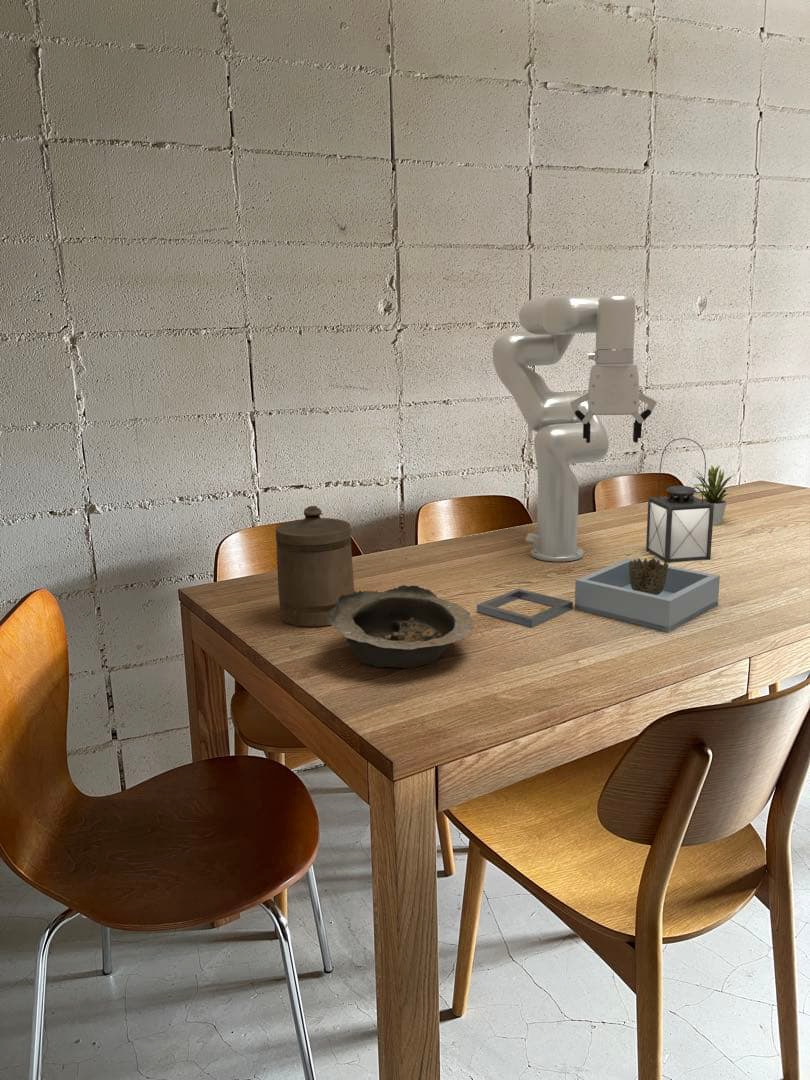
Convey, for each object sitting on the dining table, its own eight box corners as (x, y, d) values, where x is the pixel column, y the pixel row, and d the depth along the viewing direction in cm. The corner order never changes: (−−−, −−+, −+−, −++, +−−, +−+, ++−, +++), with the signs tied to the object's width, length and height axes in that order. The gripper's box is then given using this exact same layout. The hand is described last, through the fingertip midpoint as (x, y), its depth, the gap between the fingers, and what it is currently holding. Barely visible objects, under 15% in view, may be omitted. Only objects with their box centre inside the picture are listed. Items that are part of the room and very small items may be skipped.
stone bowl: (341, 626, 161) (343, 579, 158) (473, 637, 158) (476, 590, 156) (315, 677, 137) (316, 623, 134) (469, 691, 135) (473, 636, 132)
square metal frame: (476, 611, 167) (476, 604, 166) (518, 595, 176) (518, 588, 175) (532, 627, 157) (532, 619, 157) (572, 609, 167) (572, 601, 166)
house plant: (677, 516, 239) (680, 459, 235) (728, 516, 237) (732, 458, 233) (686, 528, 226) (690, 468, 222) (740, 528, 224) (745, 467, 220)
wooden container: (349, 599, 177) (344, 496, 171) (360, 623, 163) (355, 511, 157) (277, 606, 174) (270, 502, 168) (283, 631, 160) (275, 518, 154)
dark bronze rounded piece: (674, 604, 164) (676, 565, 162) (644, 610, 162) (645, 570, 160) (649, 593, 171) (651, 555, 169) (619, 599, 168) (621, 561, 166)
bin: (574, 608, 167) (575, 579, 165) (627, 585, 180) (628, 558, 179) (668, 632, 153) (670, 601, 151) (717, 604, 167) (719, 575, 165)
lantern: (711, 560, 197) (719, 440, 190) (665, 563, 195) (672, 442, 188) (688, 548, 208) (695, 434, 201) (645, 550, 206) (650, 436, 199)
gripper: (571, 360, 170) (569, 444, 174) (660, 358, 167) (656, 444, 171) (570, 358, 177) (569, 439, 181) (656, 356, 174) (652, 439, 178)
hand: (611, 441), depth 176 cm, fingers open, 9 cm apart
